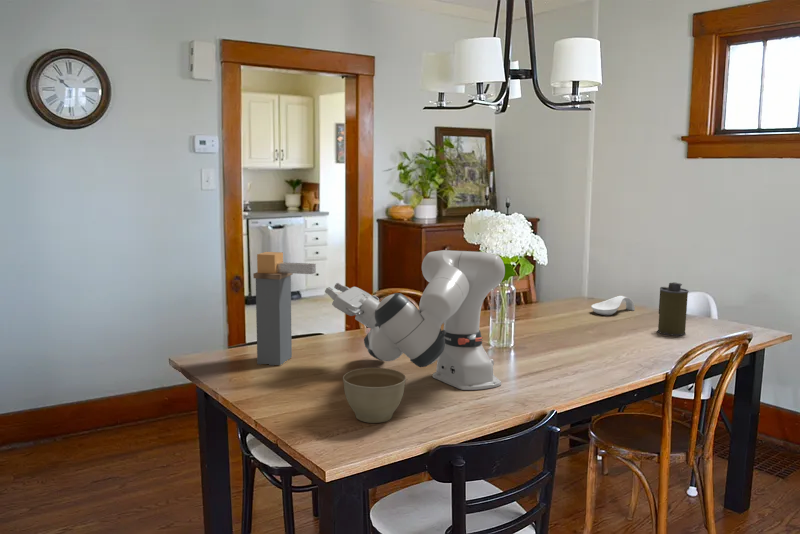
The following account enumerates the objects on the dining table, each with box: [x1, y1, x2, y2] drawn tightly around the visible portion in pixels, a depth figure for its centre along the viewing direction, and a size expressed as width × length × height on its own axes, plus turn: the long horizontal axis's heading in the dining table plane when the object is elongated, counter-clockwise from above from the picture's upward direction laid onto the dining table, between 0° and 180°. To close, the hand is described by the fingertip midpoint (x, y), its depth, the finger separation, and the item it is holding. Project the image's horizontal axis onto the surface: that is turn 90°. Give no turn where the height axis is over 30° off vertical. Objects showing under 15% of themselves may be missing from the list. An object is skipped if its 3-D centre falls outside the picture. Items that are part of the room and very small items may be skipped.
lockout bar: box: [256, 251, 317, 275], centre depth 224 cm, size 18×7×6 cm, turn 77°
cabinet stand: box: [252, 272, 294, 366], centre depth 227 cm, size 9×11×30 cm
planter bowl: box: [342, 367, 407, 424], centre depth 178 cm, size 16×16×11 cm
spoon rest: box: [590, 295, 636, 316], centre depth 312 cm, size 24×12×7 cm, turn 124°
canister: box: [657, 282, 689, 337], centre depth 274 cm, size 11×10×20 cm
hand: (331, 287), depth 222 cm, fingers open, 8 cm apart
